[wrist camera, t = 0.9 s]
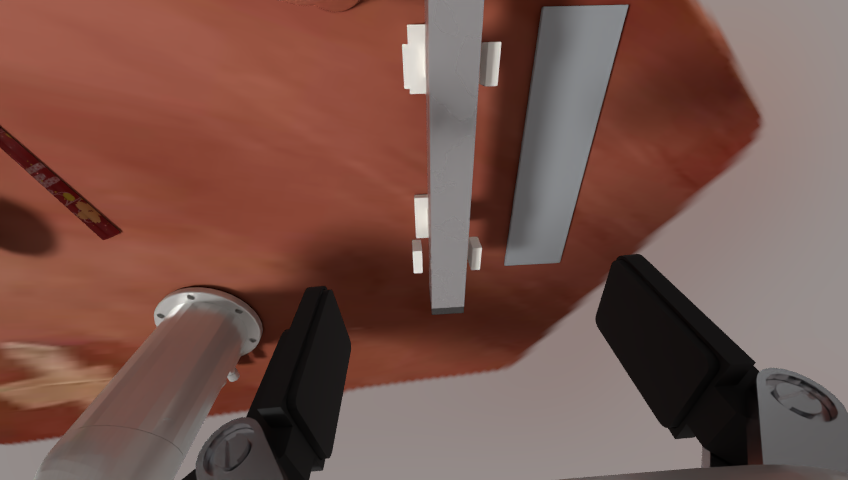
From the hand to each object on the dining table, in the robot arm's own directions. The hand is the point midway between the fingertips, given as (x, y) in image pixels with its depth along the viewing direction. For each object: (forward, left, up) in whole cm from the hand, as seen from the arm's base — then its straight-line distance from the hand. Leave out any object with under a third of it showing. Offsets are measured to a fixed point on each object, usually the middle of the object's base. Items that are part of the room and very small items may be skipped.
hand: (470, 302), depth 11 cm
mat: (-3, -13, -23) cm, 27 cm away
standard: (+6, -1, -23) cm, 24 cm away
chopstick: (+2, +39, -24) cm, 45 cm away
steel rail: (-1, -1, -16) cm, 16 cm away
